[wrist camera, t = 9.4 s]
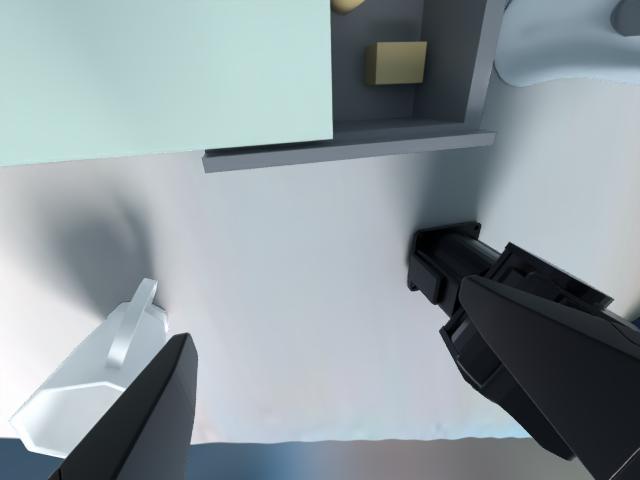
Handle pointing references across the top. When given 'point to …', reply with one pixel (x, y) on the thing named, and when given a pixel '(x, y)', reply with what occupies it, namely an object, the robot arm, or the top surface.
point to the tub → (395, 83)
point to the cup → (93, 376)
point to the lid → (160, 76)
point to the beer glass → (569, 41)
